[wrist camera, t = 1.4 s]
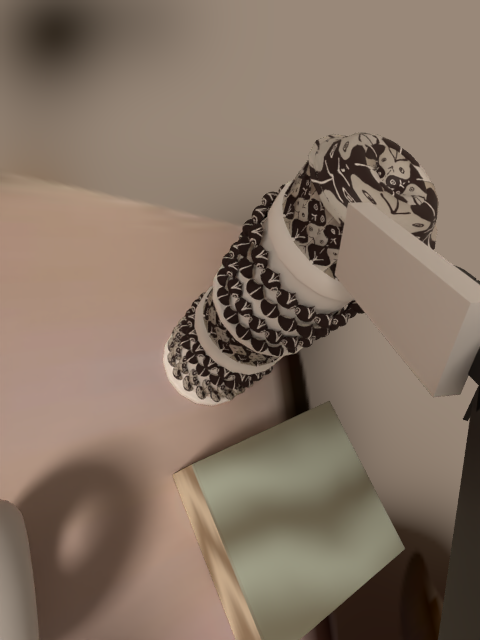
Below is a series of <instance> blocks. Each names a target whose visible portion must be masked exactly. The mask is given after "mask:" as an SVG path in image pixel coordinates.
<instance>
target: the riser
mask: <svg viewBox="0 0 480 640" xmlns="http://www.w3.org/2000/svg"><path fill="white" fill-rule="evenodd" d="M172 476H173V478H174V481H175V484H176V486H177V489H178V491H179V494H180V497H181V499H182V502H183V504H184V507H185V510H186V512H187V515H188V517H189V520H190V522H191V525H192V528H193V530H194V533H195V535H196V538H197V541H198V543H199V546H200V548H201V551H202V554H203V556H204V559H205V561H206V564H207V567H208V569H209V572H210V574H211V577H212V579H213V582H214V585H215V587H216V590H217V592H218V595H219V598H220V600H221V603H222V605H223V608H224V611H225V613H226V616H227V618H228V621H229V624H230V626H231V629H232V631H233V634H234V636H235V639H236V640H300V639H301V638H302V637H303V636H305V635H306V634H307V633H308V632H309V631H310V630H311V629H313V628H314V627H315V626H316V625H317V624H318V623H320V622H321V621H322V620H323V619H324V618H325V617H327V616H328V615H329V614H330V613H331V612H332V611H333V610H335V609H336V608H337V607H338V606H339V605H340V604H341V603H343V602H344V601H345V600H346V599H347V598H348V597H350V596H351V595H352V594H353V593H354V592H355V591H357V590H358V589H359V588H360V587H361V586H362V585H363V584H365V583H366V582H367V581H368V580H369V579H370V578H372V577H373V576H374V575H375V574H376V573H377V572H378V571H380V570H381V569H382V568H383V567H384V566H386V565H387V564H388V563H389V562H390V561H391V560H392V559H394V557H396V556H397V555H398V554H399V553H401V551H403V550H404V549H405V548H404V546H403V544H402V542H401V540H400V539H399V536H398V534H397V532H396V530H395V528H394V526H393V524H392V522H391V520H390V518H389V516H388V514H387V513H386V511H385V509H384V507H383V505H382V503H381V501H380V499H379V497H378V495H377V493H376V491H375V489H374V487H373V485H372V483H371V481H370V480H369V477H368V475H367V474H366V471H365V469H364V467H363V466H362V464H361V462H360V460H359V458H358V456H357V454H356V452H355V450H354V448H353V447H352V444H351V442H350V440H349V438H348V436H347V434H346V432H345V431H344V429H343V426H342V424H341V422H340V420H339V419H338V417H337V415H336V413H335V411H334V409H333V407H332V405H331V403H330V401H328V402H326V403H324V404H322V405H319V406H317V407H315V408H313V409H311V410H309V411H306V412H304V413H302V414H300V415H298V416H296V417H293V418H291V419H289V420H287V421H285V422H283V423H280V424H278V425H276V426H274V427H272V428H270V429H267V430H265V431H263V432H261V433H259V434H257V435H254V436H252V437H250V438H248V439H246V440H244V441H242V442H239V443H237V444H235V445H233V446H231V447H229V448H226V449H224V450H222V451H220V452H218V453H216V454H213V455H211V456H209V457H207V458H205V459H203V460H200V461H198V462H196V463H194V464H192V465H190V466H188V467H186V468H184V469H182V470H181V471H179V472H177V473H175V474H173V475H172Z"/></svg>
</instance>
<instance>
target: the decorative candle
mask: <svg viewBox="0 0 480 640" xmlns="http://www.w3.org/2000/svg"><path fill="white" fill-rule="evenodd" d="M308 159H309V160H308V161H307V162H306V164H305V165H304V166H303V168H302V169H301V170H300V172H299V173H298V175H297V176H296V177H295V179H294V180H292V181H289V182H287V184H284V185H282V186H281V187H280V189H279V191H278V193H277V192H269V193H267V194H265V195H264V196H263V198H262V204H263V205H260V206H257V207H256V208H255V209H254V211H253V213H252V219H250V220H248V221H246V222H245V224H244V225H243V228H242V230H243V232H242V233H241V234H240V236H239V241H238V242H235V243H234V244H233V245H232V246H231V248H230V253H227V254H226V255H225V256H224V257H223V260H222V265H221V267H220V269H219V270H218V272H217V274H216V275H215V277H214V279H213V286H211V287H210V288H209V289H208V290H207V292H205V293H202V294H201V295H200V296H199V299H197V300H195V301H194V302H193V304H192V308H191V309H189V310H188V311H187V312H186V315H185V316H184V317H183V318H182V319H181V320H180V321H179V322H178V325H177V326H176V327H175V328H174V330H173V332H172V334H171V336H170V338H169V339H168V341H167V343H166V344H165V346H164V356H163V365H164V368H165V371H166V374H167V378H168V380H169V381H170V382H171V384H172V385H173V386H174V388H175V389H176V390H177V391H178V393H179V394H180V395H182V396H184V397H185V398H187V399H189V400H190V401H192V402H194V403H195V404H202V405H208V406H215V405H219V404H223V403H226V402H229V401H230V400H231V399H233V398H234V397H235V396H236V395H237V394H240V393H243V392H244V391H245V387H247V388H250V387H251V386H252V385H253V381H258V380H260V379H261V378H262V377H263V375H267V374H269V373H270V372H271V371H272V369H273V365H274V364H276V363H277V362H278V361H279V360H280V359H281V358H282V357H283V356H286V355H290V354H295V353H297V352H298V351H300V350H301V349H302V348H303V347H309V346H311V345H312V343H313V340H317V339H319V338H320V337H325V336H327V335H328V334H329V333H330V330H331V331H332V330H336V329H337V328H338V327H339V326H344V325H346V323H347V321H348V318H352V317H354V316H355V315H356V314H357V313H365V312H364V311H363V310H362V308H361V307H360V306H359V305H358V303H357V302H356V301H355V300H354V298H353V297H352V296H351V295H350V293H349V292H348V291H347V290H346V288H345V287H344V286H343V285H342V283H341V282H340V281H339V280H338V279H337V277H336V276H335V270H336V265H337V260H338V254H339V249H340V244H341V238H342V233H343V228H344V223H345V217H346V212H347V207H348V203H361V202H369V203H371V204H372V205H373V206H375V207H376V208H377V209H379V210H380V211H381V212H383V213H384V214H385V215H387V216H388V217H389V218H391V219H392V220H393V221H395V222H396V223H397V224H399V225H400V226H401V227H403V228H404V229H405V230H407V231H408V232H410V233H411V234H412V235H414V236H415V237H416V238H418V239H419V240H420V241H422V242H423V243H424V244H426V245H427V246H428V247H430V248H431V249H432V250H434V249H435V242H436V234H437V228H436V225H435V223H436V219H437V212H438V205H439V202H438V198H437V195H436V191H435V188H434V185H433V183H432V182H431V180H430V179H429V177H428V175H427V173H426V172H425V170H424V169H423V168H422V167H421V165H420V164H419V163H418V162H417V161H416V160H415V159H414V158H413V157H412V156H411V154H409V153H408V152H407V151H405V150H404V149H403V148H401V147H400V146H399V145H397V144H396V143H395V142H393V141H391V140H389V139H386V138H384V137H382V136H380V135H376V134H369V133H356V134H353V135H351V136H343V135H336V134H331V135H329V136H326V137H323V138H321V139H318V140H316V142H315V144H314V146H313V147H312V149H311V151H310V153H309V155H308ZM268 208H269V209H268ZM267 216H268V218H267V219H266V220H265V222H261V221H262V220H263V219H265V218H266V217H267ZM347 304H348V307H347V308H346V310H344V306H345V305H347Z"/></svg>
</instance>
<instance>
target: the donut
mask: <svg viewBox="0 0 480 640" xmlns="http://www.w3.org/2000/svg"><path fill="white" fill-rule="evenodd" d="M0 640H39V628H38V615H37V605H36V595H35V586H34V577H33V569H32V562H31V555H30V548H29V542H28V536H27V531H26V527H25V523H24V519H23V515H22V513H21V512H20V511H19V509H18V508H17V507H16V506H15V505H14V504H12V503H10V502H9V501H6V500H1V499H0Z"/></svg>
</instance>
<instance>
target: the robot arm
mask: <svg viewBox="0 0 480 640" xmlns="http://www.w3.org/2000/svg"><path fill="white" fill-rule="evenodd" d="M335 276H336V277H337V279H338V280H339V281H340V282H341V283H342V285H343V286H344V287H345V288H346V290H347V291H348V292H349V293H350V295H351V296H352V297H353V298H354V300H355V301H356V302H357V303H358V305H359V306H360V307H361V308H362V310H363V311H364V312H365V313H366V315H367V316H368V317H369V318H370V320H371V321H372V322H373V323H374V324H375V326H376V327H377V328H378V330H379V331H380V332H381V333H382V335H383V336H384V337H385V338H386V339H387V341H388V342H389V343H390V344H391V346H392V347H393V348H394V349H395V351H396V352H397V353H398V354H399V356H400V357H401V358H402V359H403V360H404V362H405V363H406V364H407V366H408V367H409V368H410V369H411V371H412V372H413V373H414V374H415V376H416V377H417V378H418V379H419V381H420V382H421V383H422V384H423V386H424V387H425V388H426V389H427V390H428V392H429V393H430V394H431V396H432V397H441V396H449V395H459V394H461V391H462V389H463V387H464V385H465V382H466V380H467V378H468V376H470V377H471V378H472V379H473V380H474V381H475V382H476V383H477V384H478V385H479V386H478V388H477V390H476V392H475V395H474V397H473V399H472V401H471V403H470V405H469V407H468V409H467V411H466V414H465V416H464V418H463V420H466V421H468V420H469V418H470V422H469V429H468V437H467V443H466V450H465V457H464V465H463V471H462V478H461V485H460V492H459V499H458V506H457V513H456V520H455V527H454V534H453V541H452V548H451V555H450V562H449V569H448V576H447V583H446V590H445V597H444V603H443V610H442V617H441V624H440V631H439V638H438V640H480V281H479V280H478V281H477V280H476V278H475V277H473V276H472V275H471V274H469V273H468V272H467V271H465V270H464V269H461V268H459V267H457V266H455V265H452V264H451V263H450V262H448V261H447V260H446V259H444V258H443V257H442V256H440V255H439V254H438V253H436V252H435V251H434V250H432V249H431V248H430V247H428V246H427V245H426V244H424V243H423V242H422V241H420V240H419V239H418V238H416V237H415V236H414V235H412V234H411V233H410V232H408V231H407V230H405V229H404V228H403V227H401V226H400V225H399V224H397V223H396V222H395V221H393V220H392V219H391V218H389V217H388V216H387V215H385V214H384V213H383V212H381V211H380V210H379V209H377V208H376V207H375V206H373V205H372V204H371V203H369V202H361V203H348V207H347V212H346V217H345V223H344V228H343V233H342V238H341V244H340V249H339V254H338V260H337V265H336V270H335Z"/></svg>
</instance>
